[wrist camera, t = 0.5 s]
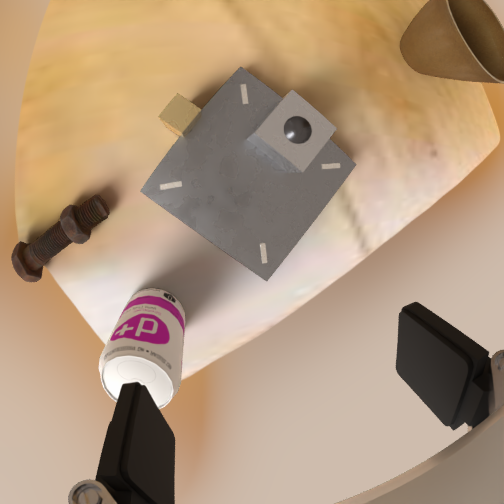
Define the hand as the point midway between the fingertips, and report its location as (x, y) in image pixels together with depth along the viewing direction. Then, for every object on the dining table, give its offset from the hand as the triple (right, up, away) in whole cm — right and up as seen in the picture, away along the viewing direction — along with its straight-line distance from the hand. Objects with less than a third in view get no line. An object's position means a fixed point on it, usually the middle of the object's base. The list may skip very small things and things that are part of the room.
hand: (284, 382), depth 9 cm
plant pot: (+25, +36, +24) cm, 51 cm away
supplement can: (-14, -4, +29) cm, 32 cm away
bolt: (-25, +7, +24) cm, 36 cm away
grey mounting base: (-2, +14, +25) cm, 29 cm away
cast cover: (+2, +17, +22) cm, 28 cm away
